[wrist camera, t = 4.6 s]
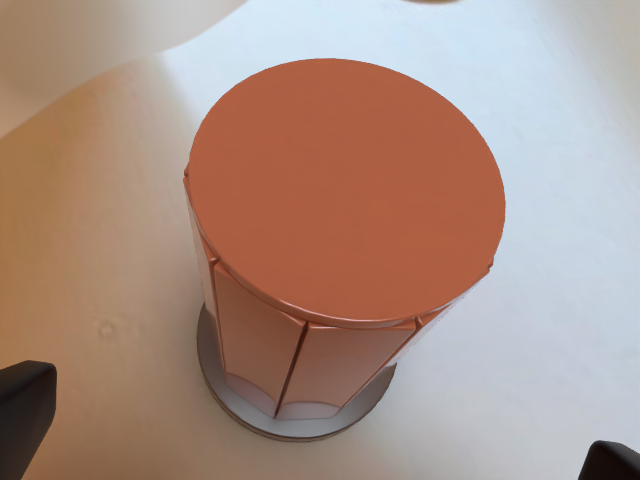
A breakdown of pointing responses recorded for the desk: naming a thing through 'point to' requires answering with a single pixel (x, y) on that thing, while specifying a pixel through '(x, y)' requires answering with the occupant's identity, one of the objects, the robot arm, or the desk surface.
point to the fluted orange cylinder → (334, 227)
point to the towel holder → (270, 426)
